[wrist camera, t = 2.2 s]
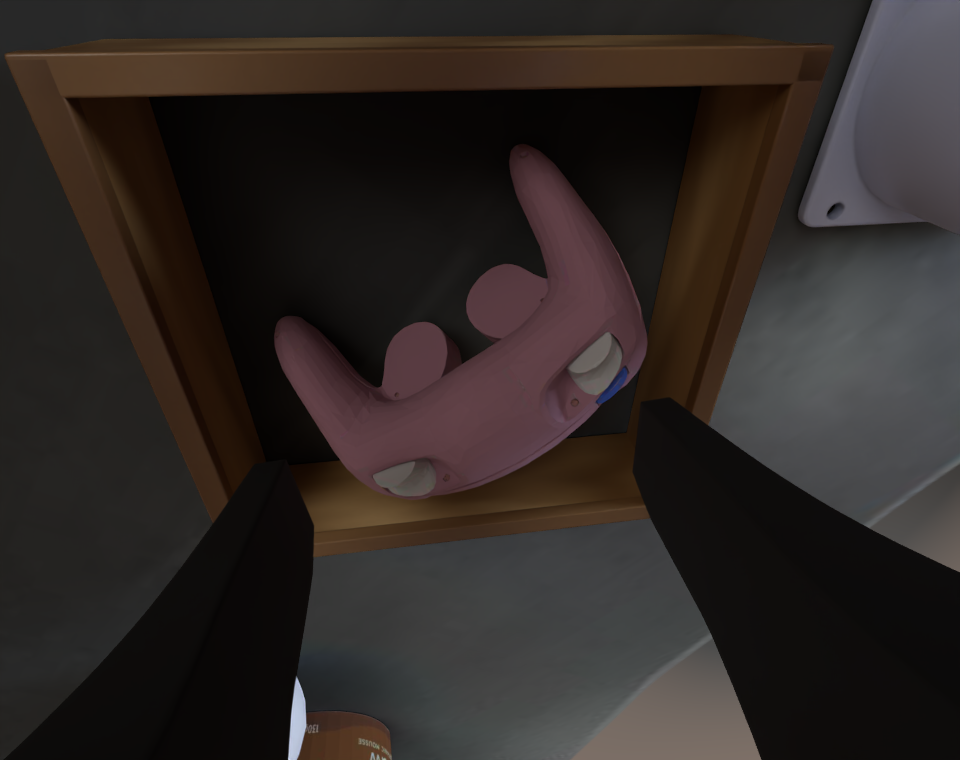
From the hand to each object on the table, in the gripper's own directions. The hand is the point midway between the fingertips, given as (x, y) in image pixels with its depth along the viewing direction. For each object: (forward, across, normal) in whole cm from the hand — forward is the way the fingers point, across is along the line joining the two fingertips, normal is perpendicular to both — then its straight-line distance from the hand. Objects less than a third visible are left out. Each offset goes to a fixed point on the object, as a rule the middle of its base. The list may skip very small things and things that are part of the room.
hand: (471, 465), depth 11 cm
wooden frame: (+8, 0, 0) cm, 8 cm away
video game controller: (+8, 0, 0) cm, 8 cm away
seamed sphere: (+8, +14, +19) cm, 25 cm away
